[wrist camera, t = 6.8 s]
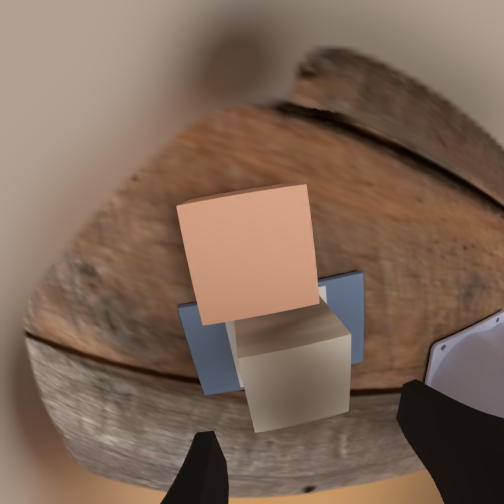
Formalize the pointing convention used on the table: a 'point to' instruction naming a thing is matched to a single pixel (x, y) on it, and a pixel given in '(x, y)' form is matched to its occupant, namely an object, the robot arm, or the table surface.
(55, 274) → the table surface
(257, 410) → the cream block
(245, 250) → the terracotta block
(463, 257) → the table surface
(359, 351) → the blue flat board
